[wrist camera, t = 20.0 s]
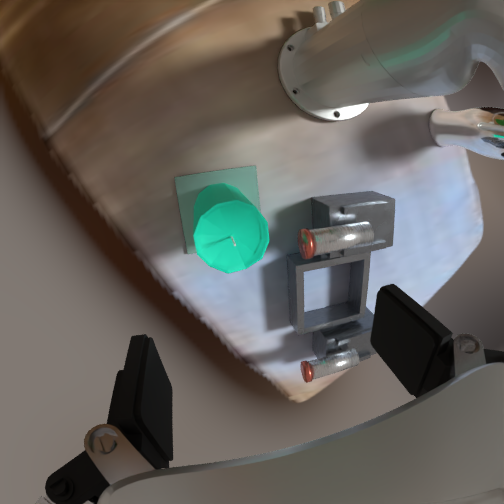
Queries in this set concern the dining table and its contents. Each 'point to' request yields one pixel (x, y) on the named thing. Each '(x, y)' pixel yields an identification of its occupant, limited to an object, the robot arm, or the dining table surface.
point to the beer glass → (470, 130)
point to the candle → (228, 229)
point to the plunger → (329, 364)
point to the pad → (198, 182)
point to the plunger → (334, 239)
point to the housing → (354, 311)
